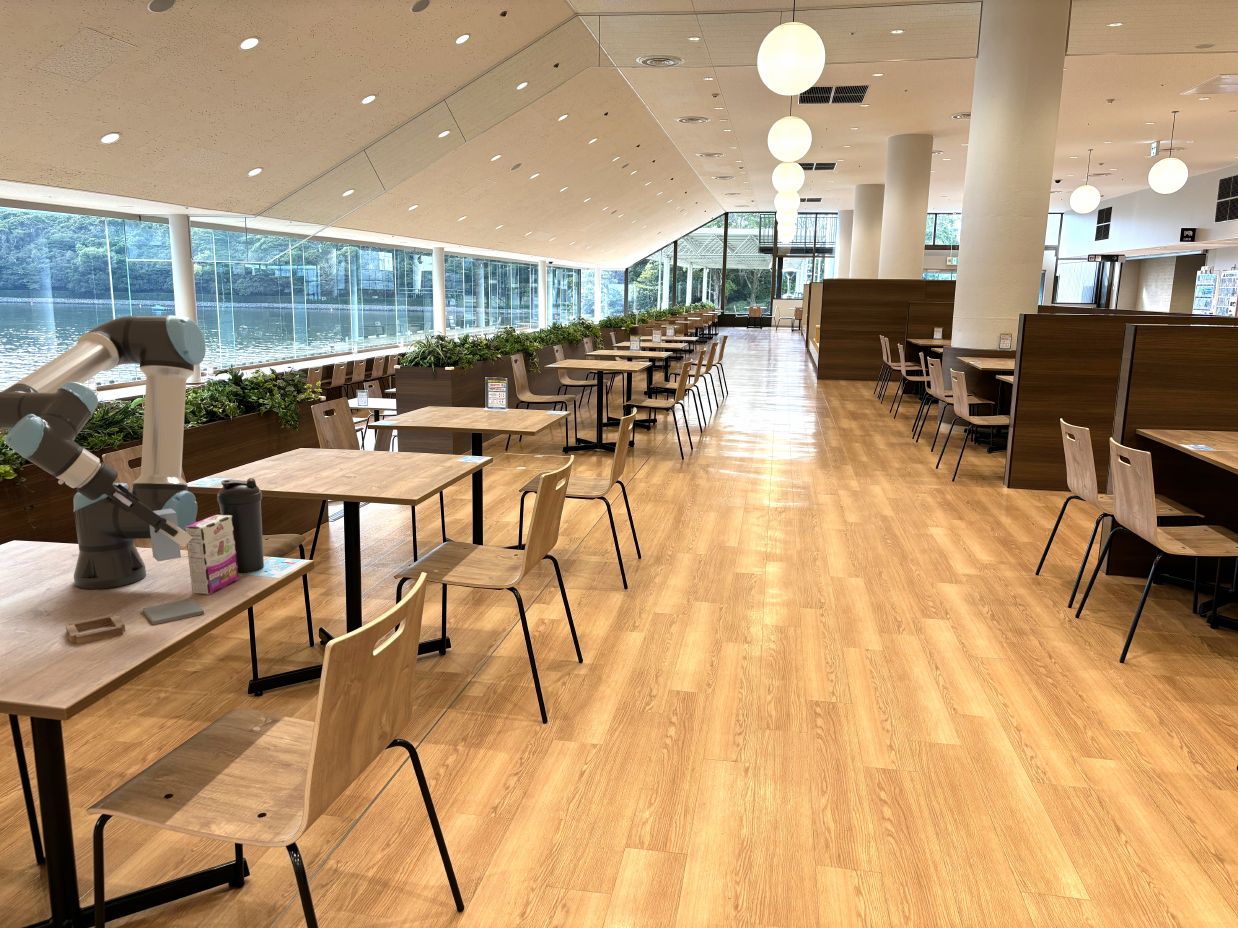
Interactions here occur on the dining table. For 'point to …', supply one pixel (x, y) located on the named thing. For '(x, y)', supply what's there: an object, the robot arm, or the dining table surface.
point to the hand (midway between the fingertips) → (184, 539)
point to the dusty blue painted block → (165, 539)
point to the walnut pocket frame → (98, 634)
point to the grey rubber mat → (172, 611)
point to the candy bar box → (212, 554)
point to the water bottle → (244, 521)
